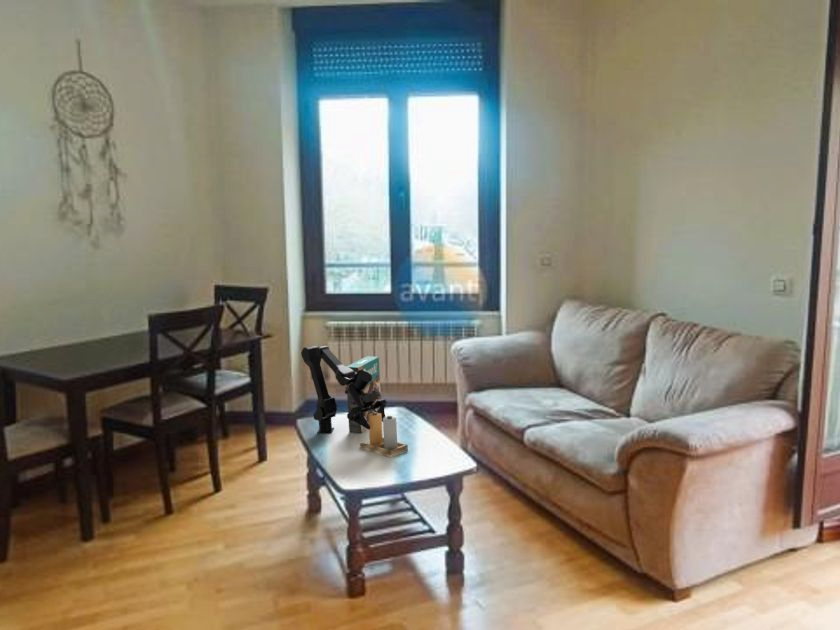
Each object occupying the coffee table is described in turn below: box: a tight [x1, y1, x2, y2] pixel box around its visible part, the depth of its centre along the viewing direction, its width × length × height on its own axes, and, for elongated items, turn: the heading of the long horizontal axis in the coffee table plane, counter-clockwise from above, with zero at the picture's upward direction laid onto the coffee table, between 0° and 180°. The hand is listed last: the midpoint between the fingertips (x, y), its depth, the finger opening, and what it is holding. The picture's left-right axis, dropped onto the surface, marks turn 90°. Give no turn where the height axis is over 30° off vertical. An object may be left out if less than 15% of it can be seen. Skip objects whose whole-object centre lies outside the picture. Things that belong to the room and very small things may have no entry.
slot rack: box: [359, 437, 409, 459], centre depth 280 cm, size 18×10×2 cm, turn 47°
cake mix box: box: [346, 355, 382, 435], centre depth 310 cm, size 22×6×30 cm, turn 159°
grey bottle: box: [382, 415, 398, 450], centre depth 276 cm, size 5×5×14 cm
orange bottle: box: [368, 412, 384, 446], centre depth 282 cm, size 5×5×14 cm
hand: (377, 426), depth 281 cm, fingers open, 9 cm apart
